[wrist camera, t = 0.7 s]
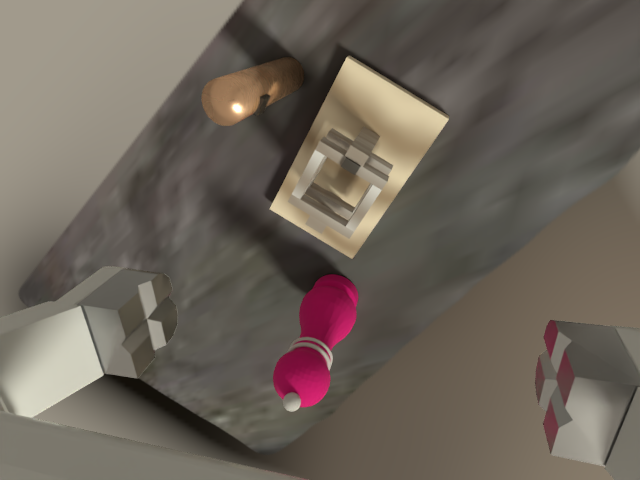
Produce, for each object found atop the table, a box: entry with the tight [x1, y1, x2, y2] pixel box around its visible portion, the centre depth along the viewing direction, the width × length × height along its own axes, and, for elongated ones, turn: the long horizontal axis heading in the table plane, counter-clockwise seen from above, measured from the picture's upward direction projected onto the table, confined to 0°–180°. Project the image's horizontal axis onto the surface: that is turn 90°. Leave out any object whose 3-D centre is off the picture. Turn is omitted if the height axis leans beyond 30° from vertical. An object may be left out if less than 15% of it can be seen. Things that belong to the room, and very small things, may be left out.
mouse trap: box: [270, 56, 449, 259], centre depth 47 cm, size 20×12×9 cm, turn 153°
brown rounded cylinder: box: [202, 57, 304, 126], centre depth 41 cm, size 4×4×16 cm
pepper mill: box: [273, 274, 358, 411], centre depth 51 cm, size 7×7×20 cm
